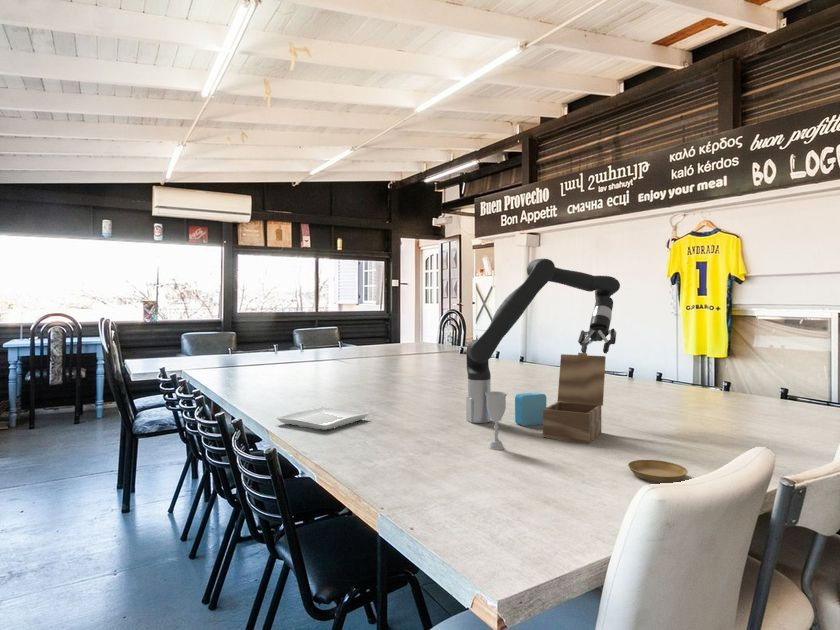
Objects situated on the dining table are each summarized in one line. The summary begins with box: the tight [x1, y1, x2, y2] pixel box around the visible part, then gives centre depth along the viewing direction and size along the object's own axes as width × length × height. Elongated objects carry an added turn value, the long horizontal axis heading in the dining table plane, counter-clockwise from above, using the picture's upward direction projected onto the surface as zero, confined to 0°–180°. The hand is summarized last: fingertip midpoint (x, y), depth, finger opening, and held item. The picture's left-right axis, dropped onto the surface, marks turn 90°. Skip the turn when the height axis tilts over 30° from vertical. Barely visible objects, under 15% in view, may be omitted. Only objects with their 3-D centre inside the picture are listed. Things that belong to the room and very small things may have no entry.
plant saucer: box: [627, 459, 689, 484], centre depth 137 cm, size 15×15×3 cm
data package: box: [514, 391, 547, 427], centre depth 200 cm, size 12×4×12 cm, turn 112°
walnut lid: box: [557, 352, 606, 407], centre depth 192 cm, size 19×17×2 cm
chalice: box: [485, 391, 508, 451], centre depth 166 cm, size 7×7×18 cm
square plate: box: [275, 406, 371, 431], centre depth 205 cm, size 27×27×4 cm
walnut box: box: [542, 400, 602, 444], centre depth 182 cm, size 18×16×10 cm
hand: (594, 352), depth 198 cm, fingers open, 8 cm apart
